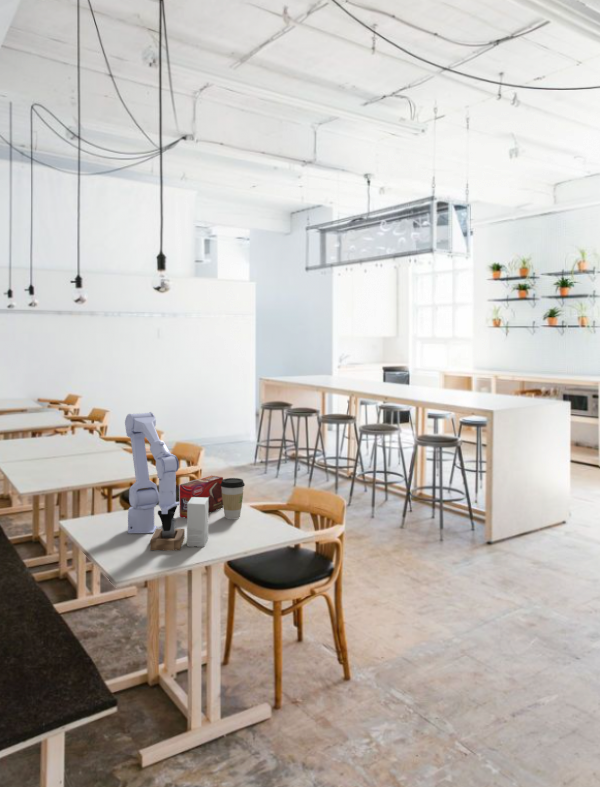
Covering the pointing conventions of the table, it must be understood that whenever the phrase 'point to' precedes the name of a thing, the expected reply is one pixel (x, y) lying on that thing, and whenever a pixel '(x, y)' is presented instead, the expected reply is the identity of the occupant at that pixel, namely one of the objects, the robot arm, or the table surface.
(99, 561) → the table surface
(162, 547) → the well block
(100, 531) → the table surface
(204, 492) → the ice cream box
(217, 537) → the table surface
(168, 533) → the tall grey block
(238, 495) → the coffee cup
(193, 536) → the skincare box
